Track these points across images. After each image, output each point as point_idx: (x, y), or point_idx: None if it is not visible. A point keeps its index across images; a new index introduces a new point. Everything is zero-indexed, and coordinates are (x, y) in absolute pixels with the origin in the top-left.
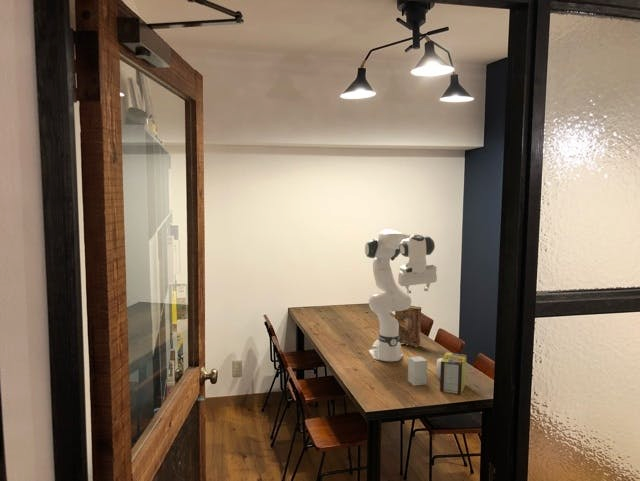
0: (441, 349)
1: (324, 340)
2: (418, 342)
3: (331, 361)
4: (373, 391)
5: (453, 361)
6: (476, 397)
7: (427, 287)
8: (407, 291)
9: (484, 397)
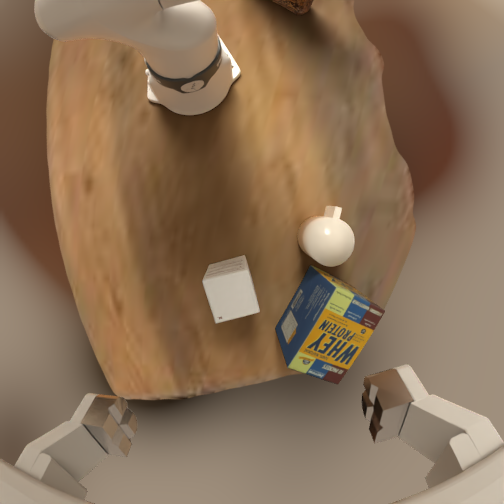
0: (361, 38)
1: None
2: (306, 7)
3: (48, 133)
4: (121, 326)
5: (322, 370)
6: None
7: (408, 443)
8: (86, 407)
9: None
